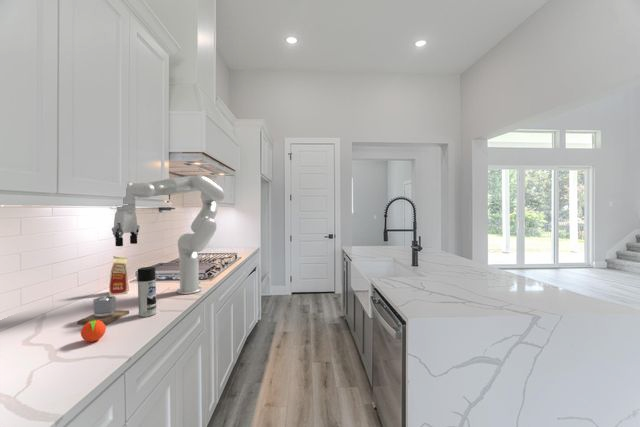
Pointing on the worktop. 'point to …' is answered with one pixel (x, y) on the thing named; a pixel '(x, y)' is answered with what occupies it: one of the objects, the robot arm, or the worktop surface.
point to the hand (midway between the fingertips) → (126, 244)
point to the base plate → (106, 320)
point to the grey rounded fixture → (104, 313)
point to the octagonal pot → (104, 305)
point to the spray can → (146, 291)
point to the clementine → (93, 330)
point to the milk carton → (118, 277)
